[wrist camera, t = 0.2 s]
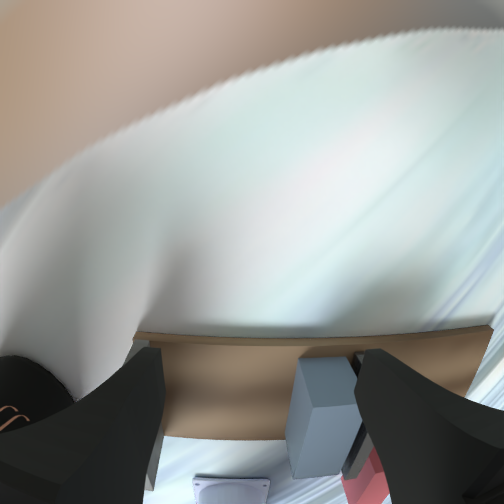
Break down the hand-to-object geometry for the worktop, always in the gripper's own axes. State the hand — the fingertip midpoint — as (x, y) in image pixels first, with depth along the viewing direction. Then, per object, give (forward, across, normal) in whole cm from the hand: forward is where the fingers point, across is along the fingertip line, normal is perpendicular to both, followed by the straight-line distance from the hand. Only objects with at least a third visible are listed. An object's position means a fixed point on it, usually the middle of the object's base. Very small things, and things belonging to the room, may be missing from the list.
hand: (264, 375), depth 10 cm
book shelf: (+10, -7, +10) cm, 16 cm away
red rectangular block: (+10, -13, +21) cm, 27 cm away
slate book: (+9, -5, +10) cm, 14 cm away
